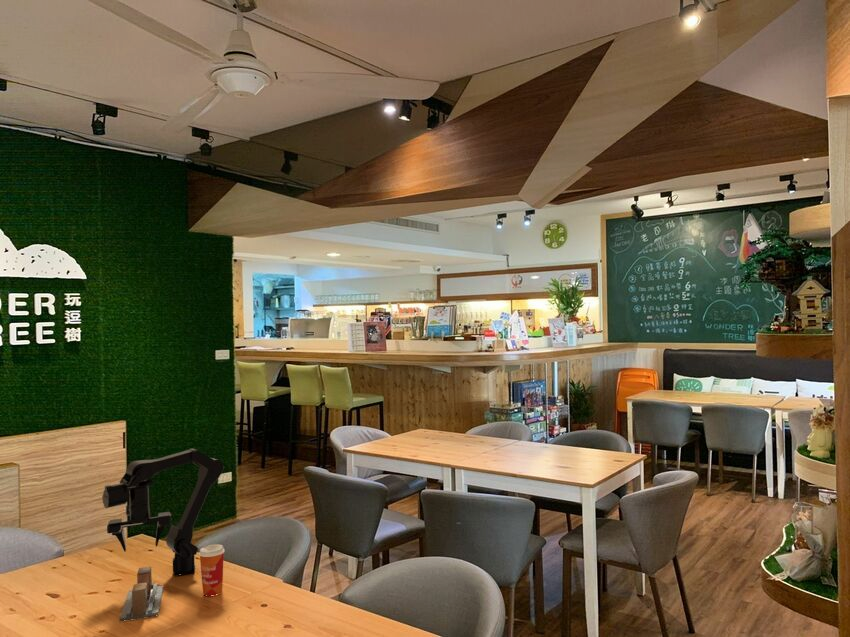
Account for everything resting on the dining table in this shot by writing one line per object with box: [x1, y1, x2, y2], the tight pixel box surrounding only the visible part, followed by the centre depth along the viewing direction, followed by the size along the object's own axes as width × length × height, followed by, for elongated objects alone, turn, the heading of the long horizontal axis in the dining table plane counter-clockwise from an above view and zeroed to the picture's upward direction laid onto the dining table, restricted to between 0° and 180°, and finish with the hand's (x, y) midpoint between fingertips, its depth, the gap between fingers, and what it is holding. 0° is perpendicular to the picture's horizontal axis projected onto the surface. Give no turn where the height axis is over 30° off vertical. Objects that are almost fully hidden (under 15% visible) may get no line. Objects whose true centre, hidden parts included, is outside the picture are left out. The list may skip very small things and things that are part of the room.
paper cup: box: [198, 543, 226, 596], centre depth 192 cm, size 8×8×14 cm
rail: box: [119, 582, 164, 622], centre depth 185 cm, size 10×20×8 cm, turn 19°
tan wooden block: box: [136, 566, 153, 595], centre depth 190 cm, size 4×6×7 cm, turn 19°
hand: (140, 548), depth 199 cm, fingers open, 9 cm apart
